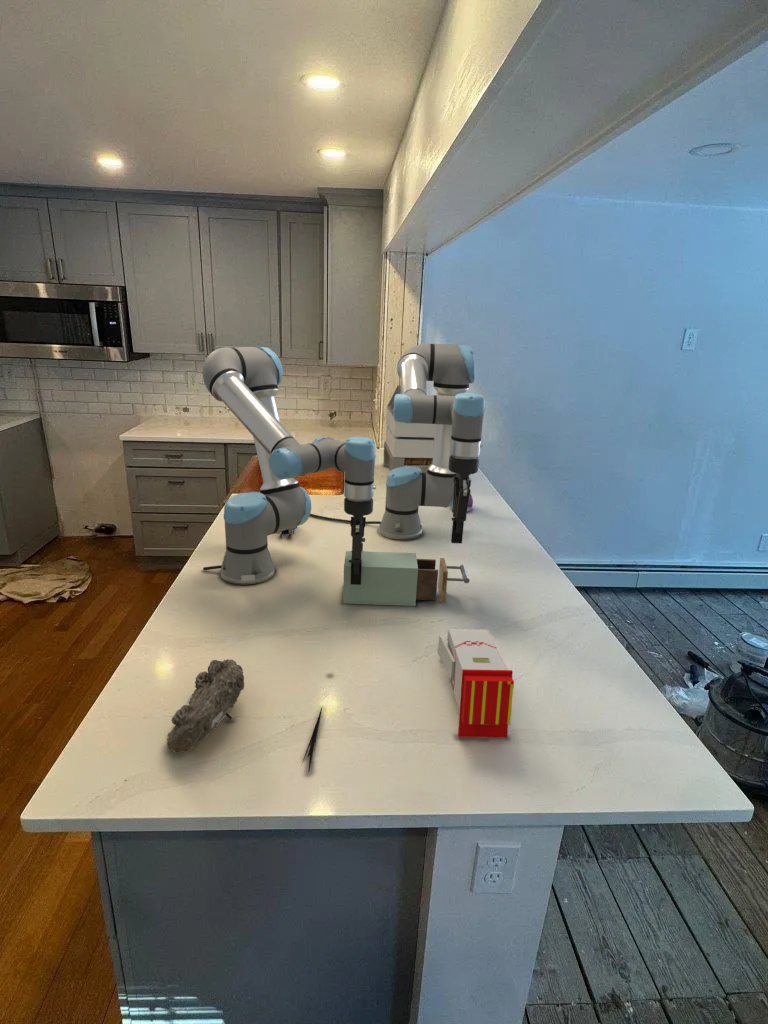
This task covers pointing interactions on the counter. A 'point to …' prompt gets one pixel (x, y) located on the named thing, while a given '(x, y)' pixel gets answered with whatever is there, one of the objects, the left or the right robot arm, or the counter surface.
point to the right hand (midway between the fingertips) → (456, 542)
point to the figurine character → (287, 532)
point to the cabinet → (382, 579)
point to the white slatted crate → (407, 441)
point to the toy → (478, 682)
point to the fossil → (206, 705)
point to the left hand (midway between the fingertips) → (356, 573)
